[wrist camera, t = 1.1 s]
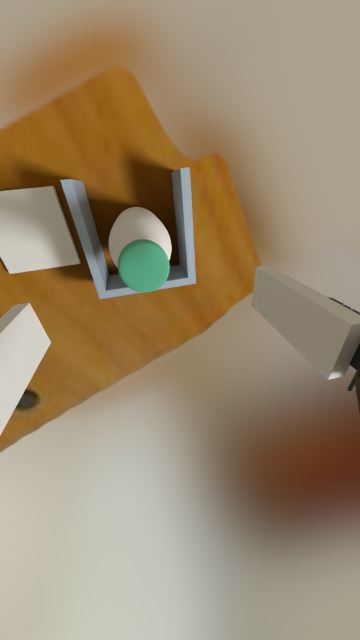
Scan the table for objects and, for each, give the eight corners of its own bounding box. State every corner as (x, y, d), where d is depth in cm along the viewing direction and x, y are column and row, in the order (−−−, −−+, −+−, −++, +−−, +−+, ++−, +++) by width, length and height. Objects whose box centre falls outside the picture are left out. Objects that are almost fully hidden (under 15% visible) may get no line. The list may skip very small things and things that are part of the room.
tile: (12, 272, 34) (9, 273, 33) (-31, 194, 28) (-35, 194, 28) (81, 262, 35) (80, 263, 35) (54, 186, 29) (52, 185, 29)
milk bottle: (107, 212, 32) (80, 234, 16) (154, 201, 33) (178, 210, 16) (123, 260, 37) (116, 317, 20) (165, 249, 37) (193, 297, 20)
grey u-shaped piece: (104, 282, 38) (99, 299, 32) (74, 182, 30) (60, 180, 24) (186, 270, 40) (195, 283, 34) (179, 172, 31) (189, 167, 26)
